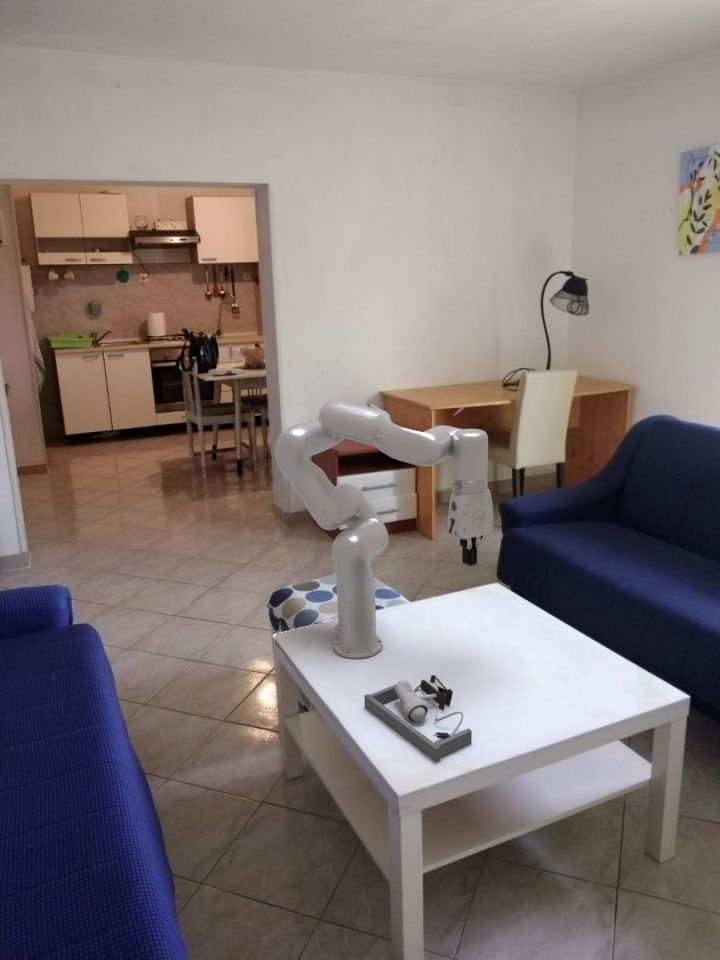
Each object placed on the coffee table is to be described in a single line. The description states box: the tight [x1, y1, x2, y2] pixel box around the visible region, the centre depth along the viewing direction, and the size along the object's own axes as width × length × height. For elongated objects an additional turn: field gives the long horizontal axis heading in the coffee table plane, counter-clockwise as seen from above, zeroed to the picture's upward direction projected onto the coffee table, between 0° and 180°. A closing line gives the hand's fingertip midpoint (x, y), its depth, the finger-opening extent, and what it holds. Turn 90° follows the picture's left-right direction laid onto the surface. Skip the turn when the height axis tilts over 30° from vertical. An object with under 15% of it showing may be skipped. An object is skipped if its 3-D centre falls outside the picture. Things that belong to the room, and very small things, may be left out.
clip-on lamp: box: [395, 674, 464, 739], centre depth 154 cm, size 12×6×18 cm
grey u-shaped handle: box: [363, 684, 473, 764], centre depth 151 cm, size 24×10×3 cm, turn 34°
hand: (469, 563), depth 166 cm, fingers closed
